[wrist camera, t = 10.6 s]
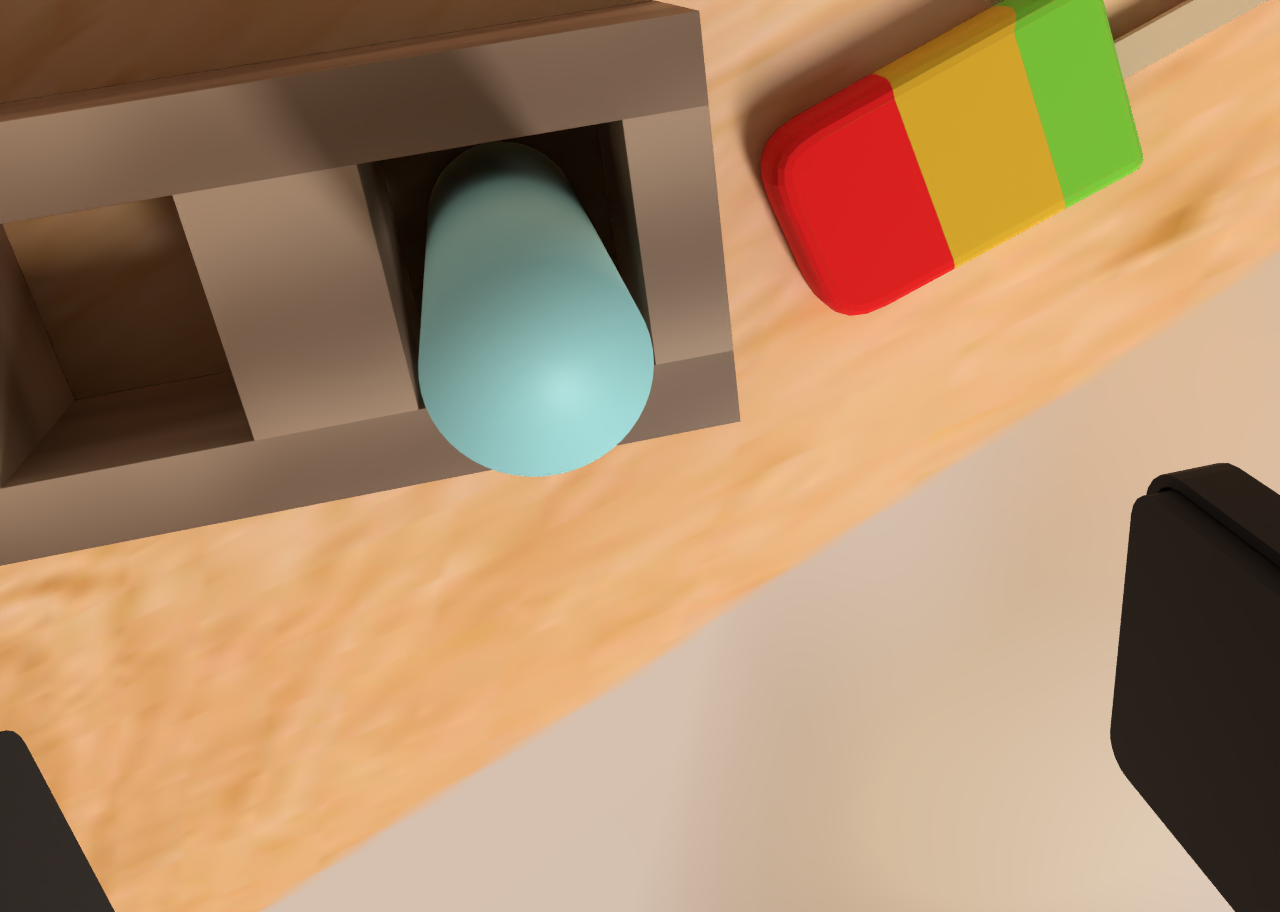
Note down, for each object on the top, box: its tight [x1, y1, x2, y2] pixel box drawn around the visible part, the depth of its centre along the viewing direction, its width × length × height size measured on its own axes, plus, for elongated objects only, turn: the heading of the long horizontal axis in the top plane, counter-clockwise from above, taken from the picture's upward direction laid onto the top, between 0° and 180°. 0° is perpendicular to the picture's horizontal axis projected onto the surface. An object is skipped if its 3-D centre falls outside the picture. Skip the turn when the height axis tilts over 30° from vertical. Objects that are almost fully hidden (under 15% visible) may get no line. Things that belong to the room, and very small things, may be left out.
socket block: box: [0, 1, 740, 566], centre depth 24 cm, size 9×18×5 cm, turn 98°
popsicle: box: [761, 0, 1268, 316], centre depth 27 cm, size 6×15×2 cm, turn 117°
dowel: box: [418, 141, 654, 477], centre depth 22 cm, size 4×4×11 cm
